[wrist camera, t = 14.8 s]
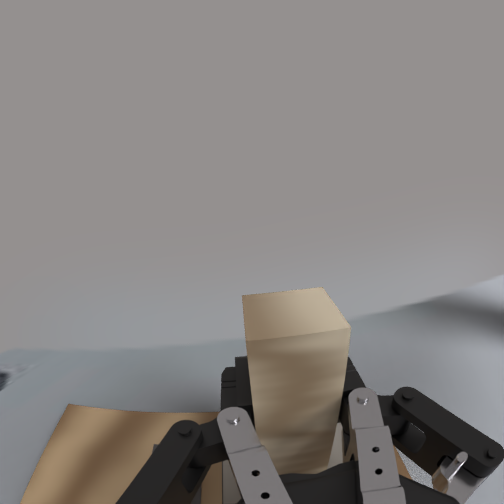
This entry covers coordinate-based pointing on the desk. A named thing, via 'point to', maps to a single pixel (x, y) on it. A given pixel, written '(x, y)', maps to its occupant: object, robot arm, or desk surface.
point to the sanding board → (112, 456)
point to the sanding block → (295, 380)
